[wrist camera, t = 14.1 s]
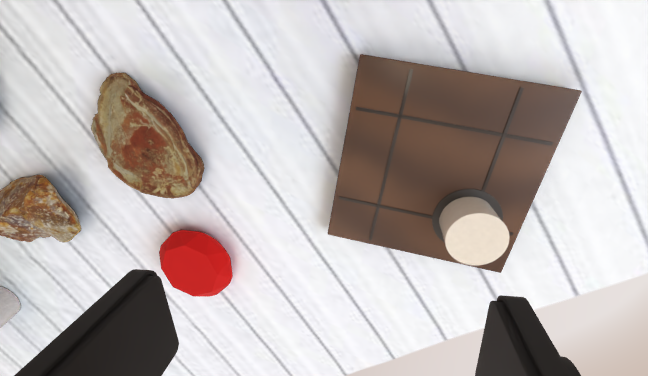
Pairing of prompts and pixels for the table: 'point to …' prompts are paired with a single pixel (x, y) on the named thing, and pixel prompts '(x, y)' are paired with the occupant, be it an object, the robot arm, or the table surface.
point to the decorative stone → (35, 211)
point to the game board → (441, 151)
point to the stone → (144, 141)
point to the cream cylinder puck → (473, 231)
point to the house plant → (8, 305)
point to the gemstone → (195, 263)
